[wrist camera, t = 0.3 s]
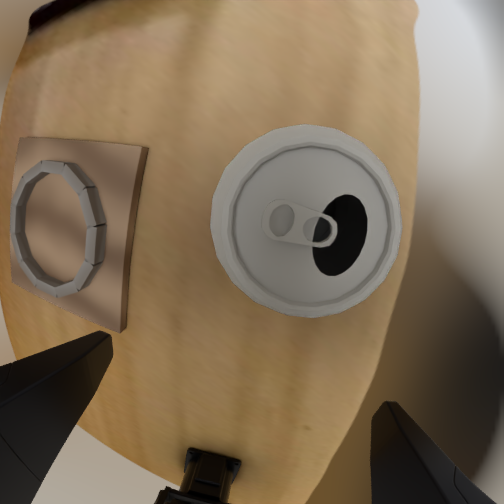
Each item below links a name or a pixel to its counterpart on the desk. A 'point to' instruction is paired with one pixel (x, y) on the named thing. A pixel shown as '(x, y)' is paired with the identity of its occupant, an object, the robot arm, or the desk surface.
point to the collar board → (76, 224)
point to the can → (306, 221)
